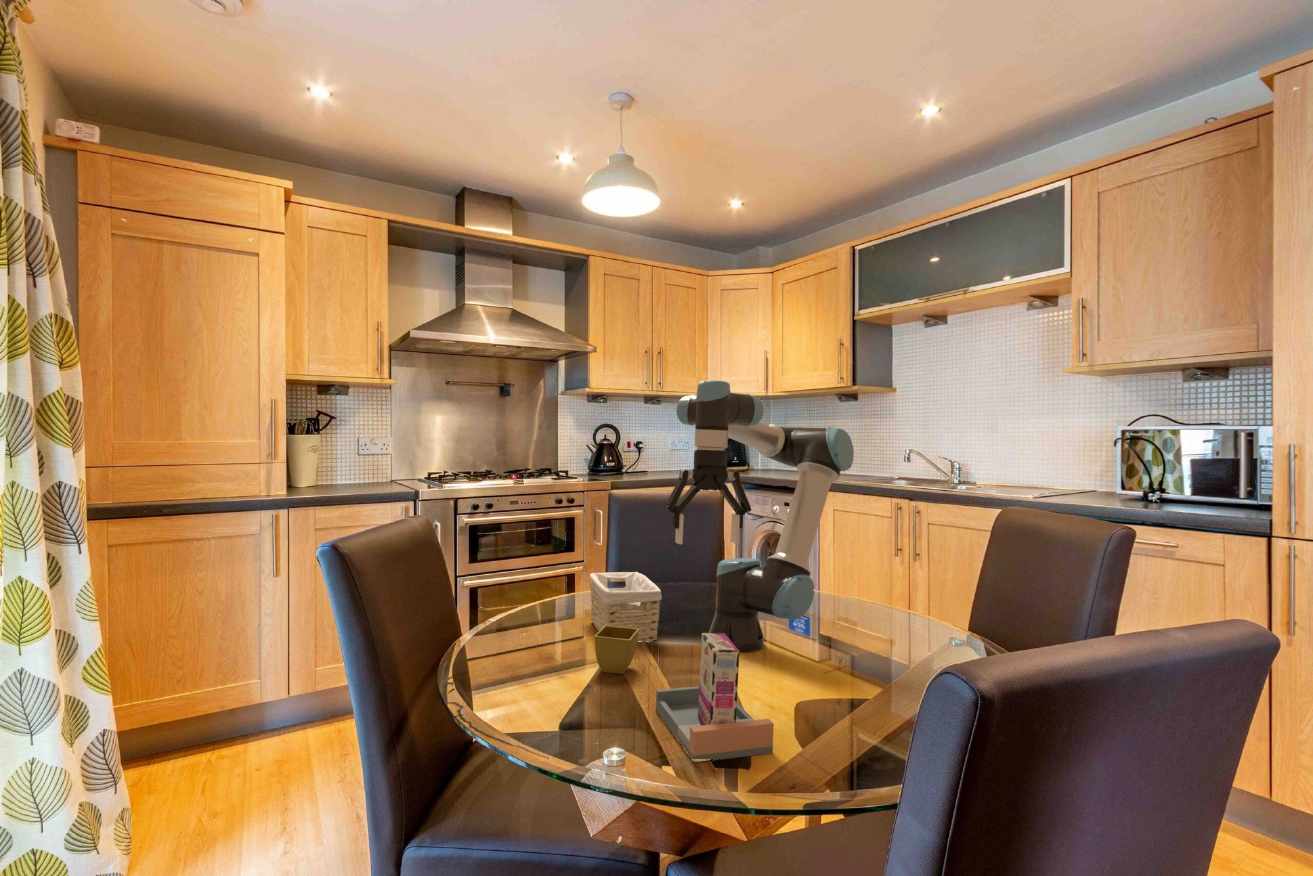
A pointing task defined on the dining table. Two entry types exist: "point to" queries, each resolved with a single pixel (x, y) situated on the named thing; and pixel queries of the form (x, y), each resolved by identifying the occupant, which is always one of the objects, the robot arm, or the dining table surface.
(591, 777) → the dining table surface
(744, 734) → the gray drawer tray
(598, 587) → the storage basket
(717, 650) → the candy bar box
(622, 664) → the flower pot
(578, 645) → the dining table surface
